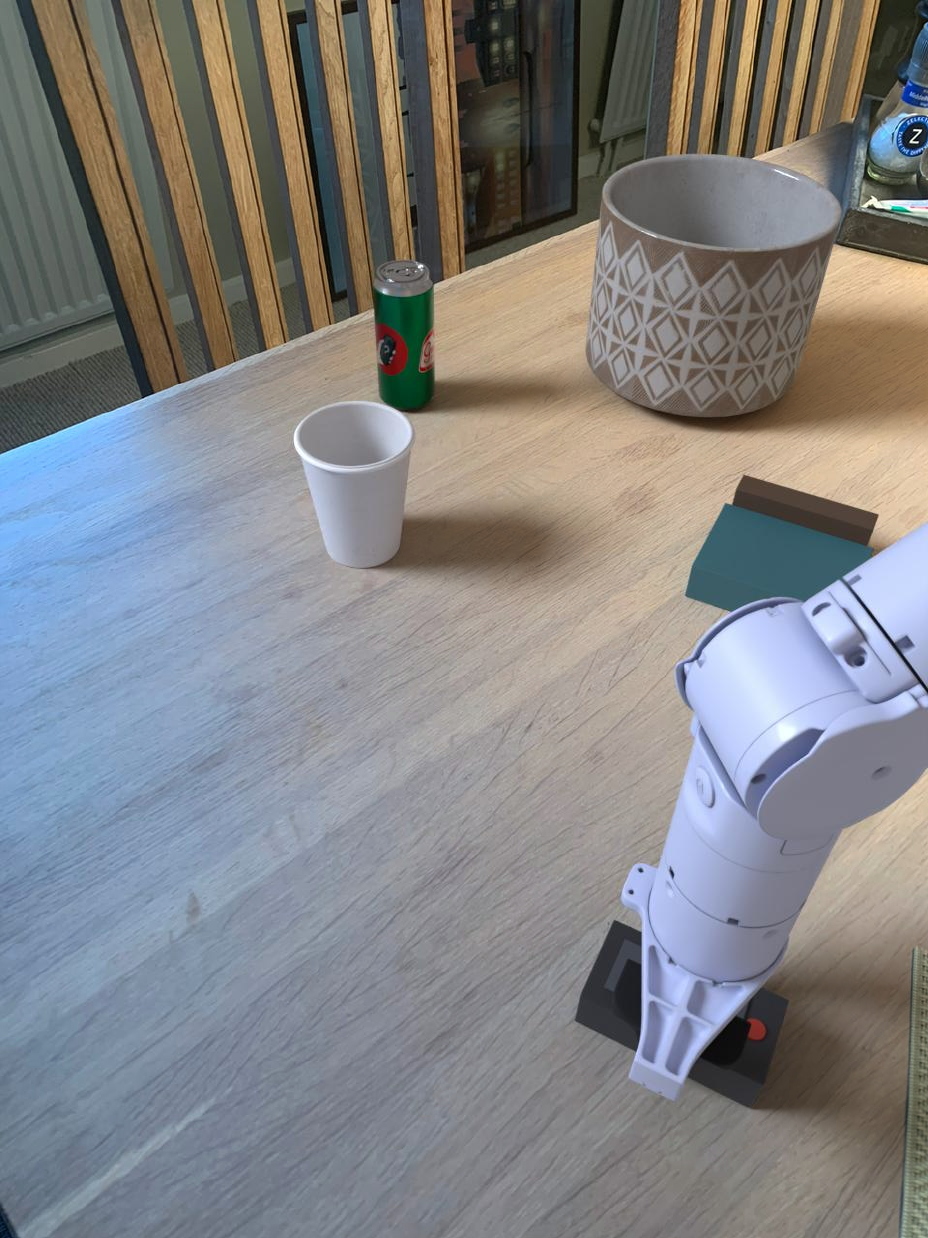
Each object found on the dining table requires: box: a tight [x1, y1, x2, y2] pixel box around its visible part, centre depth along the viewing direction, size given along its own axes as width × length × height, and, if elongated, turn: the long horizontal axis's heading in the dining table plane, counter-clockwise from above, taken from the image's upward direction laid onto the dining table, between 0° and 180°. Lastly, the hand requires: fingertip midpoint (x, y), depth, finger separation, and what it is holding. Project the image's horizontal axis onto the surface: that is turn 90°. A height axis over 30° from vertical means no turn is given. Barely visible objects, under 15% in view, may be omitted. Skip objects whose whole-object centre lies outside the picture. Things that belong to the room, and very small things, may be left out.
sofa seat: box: [684, 474, 879, 613], centre depth 71 cm, size 10×11×4 cm
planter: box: [585, 153, 843, 418], centre depth 87 cm, size 19×19×16 cm
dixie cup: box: [293, 400, 416, 569], centre depth 72 cm, size 8×8×10 cm
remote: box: [574, 919, 790, 1109], centre depth 49 cm, size 9×4×3 cm, turn 63°
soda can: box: [372, 259, 436, 411], centre depth 85 cm, size 5×5×12 cm
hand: (680, 1009), depth 49 cm, fingers closed on remote, 4 cm apart
